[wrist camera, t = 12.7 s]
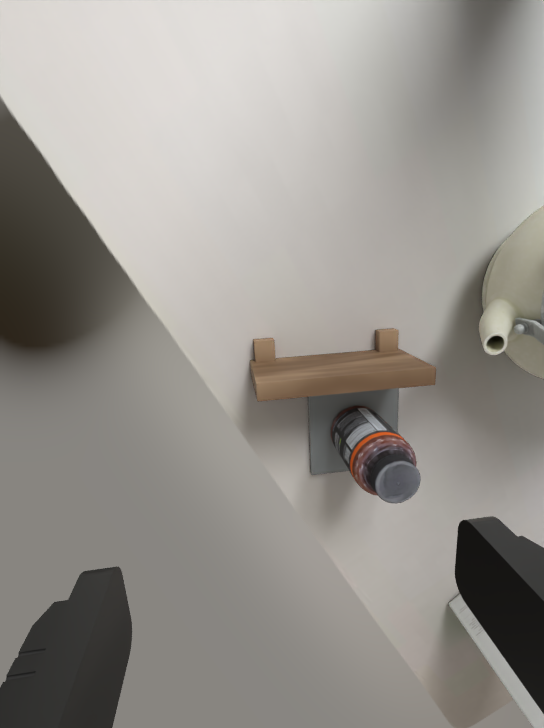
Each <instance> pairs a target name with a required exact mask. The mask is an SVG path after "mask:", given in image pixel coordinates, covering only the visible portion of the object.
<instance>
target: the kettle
mask: <svg viewBox="0 0 544 728" xmlns="http://www.w3.org/2000/svg"><path fill="white" fill-rule="evenodd" d="M482 306H483V311H484V313H483V315H482V317H481V319H480V323H479V334H480V338H481V341H482V345H483V348H484V350H485V352H486V353H488V354H489V355H498V354H500V353H502V352H503V351H504V352H505V353H506V354H507V355H508V356H509V358H510V359H511V360H512V361H513V362H515V363H516V364H517V365H518V366H519V367H521V368H522V369H523V370H525V371H527V372H528V373H530V374H532V375H534V376H537V377H539V378H542V379H544V206H542V207H541V208H539V209H538V210H537V211H535V212H534V213H533V214H531V215H530V216H529V217H528V218H527V219H526V220H525V221H524V222H523V223H522V224H521V225H520V226H519V227H518V228H517V229H516V230H515V231H514V232H513V233H512V235H510V236H509V237H508V238H507V239H506V240H505V241H504V242H503V244H502V245H501V246H500V247H499V249H498V250H497V251H496V253H495V254H494V256H493V258H492V260H491V262H490V264H489V266H488V268H487V271H486V274H485V278H484V282H483V288H482Z"/></svg>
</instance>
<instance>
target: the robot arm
mask: <svg viewBox="0 0 544 728" xmlns="http://www.w3.org/2000/svg"><path fill="white" fill-rule="evenodd" d="M455 578H456V583H457V586H458V589H459V592H460V594H461V597H462V598H463V600H464V602H465V603H466V605H467V606H468V608H469V609H470V610H471V612H472V613H473V615H474V616H475V617H476V619H477V620H478V622H479V623H480V625H481V626H482V627H483V629H484V630H485V632H486V633H487V635H488V636H489V637H490V639H491V640H492V642H493V643H494V644H495V646H496V647H497V649H498V650H499V652H500V653H501V654H502V656H503V657H504V659H505V660H506V662H507V663H508V664H509V666H510V667H511V669H512V670H513V671H514V673H515V674H516V676H517V677H518V679H519V680H520V681H521V683H522V684H523V686H524V687H525V688H526V690H527V691H528V693H529V694H530V696H531V697H532V698H533V700H534V701H535V703H536V704H537V706H538V707H539V708H540V710H541V711H542V713H543V714H544V548H543V547H541V546H539V545H537V544H536V543H534V542H532V541H530V540H529V539H527V538H525V537H523V536H519V537H517V536H516V535H515V534H514V533H513V532H512V531H511V530H510V529H509V528H507V527H506V526H505V525H504V524H503V523H502V522H501V521H500V520H499V519H497V518H496V517H483V518H476V519H469V520H463V521H461V522H460V524H459V526H458V537H457V551H456V564H455ZM131 641H132V622H131V616H130V611H129V606H128V601H127V596H126V591H125V586H124V580H123V575H122V572H121V569H120V568H119V567H112V568H105V569H97V570H90V571H84V572H83V573H81V574H80V576H79V578H78V580H77V582H76V584H75V586H74V589H73V591H72V593H71V595H70V598H69V600H65V601H59V602H54V603H53V604H52V605H51V606H50V608H49V609H48V610H47V611H46V612H45V613H44V614H43V615H42V616H41V617H40V618H39V620H38V621H37V622H36V623H35V624H34V625H33V626H32V628H31V630H30V632H29V634H28V636H27V637H26V639H25V641H24V643H23V645H22V647H21V649H20V651H19V656H18V658H16V659H15V660H14V662H13V664H12V666H11V668H10V670H9V672H8V674H7V678H6V681H5V682H3V684H2V685H1V687H0V728H112V726H113V722H114V717H115V714H116V709H117V705H118V701H119V697H120V693H121V688H122V684H123V680H124V676H125V672H126V667H127V663H128V659H129V655H130V649H131Z"/></svg>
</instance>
